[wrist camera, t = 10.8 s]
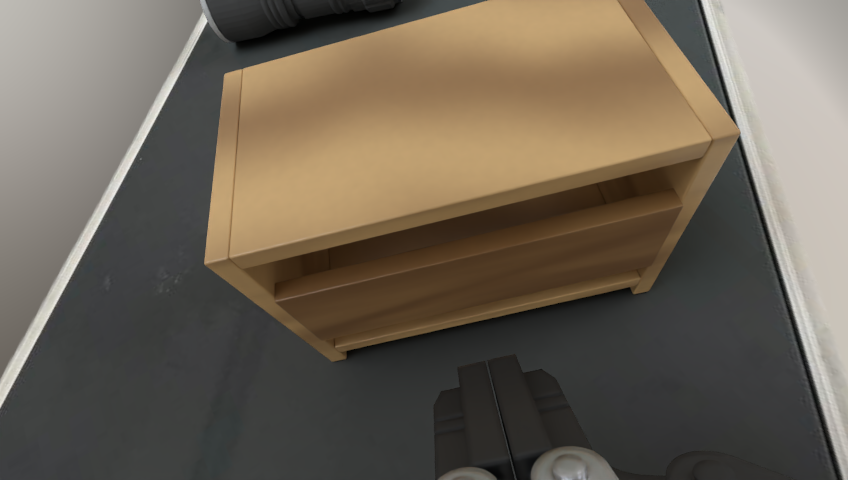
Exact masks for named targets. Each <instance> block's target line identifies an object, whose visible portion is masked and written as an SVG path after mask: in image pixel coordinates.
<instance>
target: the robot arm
mask: <svg viewBox="0 0 848 480" xmlns="http://www.w3.org/2000/svg"><path fill="white" fill-rule="evenodd" d="M487 361H488V365H489V369H490V373H491V378H492V382H493V386H494V390H495V394H496V398H497V403H498V407H499V411H500V415H501V419H502V423H503V427H504V431H505V435H506V439H507V443H508V447H509V451H510V455H511V459H512V462H513V466H514V470H515V474H516V478H517V480H795V479H793V478H790V477H787V476H784V475H782V474H779V473H776V472H774V471H771V470H768V469H766V468H763V467H760V466H758V465H755V464H752V463H750V462H747V461H744V460H741V459H739V458H736V457H733V456H730V455H727V454H724V453H719V452H714V451H693V452H689V453H685V454H682V455H680V456H678V457H676V458H675V459H674V460H673V461H672V462H671V463H670V464H669V466H668V467H667V470H666V476H655V475H640V474H632V473H627V472H623V471H620V470H617V469H615V468H613V467H611V466H610V465H609V464H608V463H607V461H606V460H605V459H604V458H603V457H602V456H601V455H599V454H597V453H596V452H594V451H593V450H592V448H591V446H590V444H589V442H588V440H587V438H586V436H585V434H584V433H583V431H582V429H581V427H580V425H579V423H578V421H577V419H576V417H575V415H574V413H573V411H572V409H571V407H570V406H569V404H568V402H567V400H566V398H565V396H564V395H563V392H562V390H561V388H560V386H559V384H558V382H557V380H556V379H555V378H554V377H552V376H551V375H549V374H548V373H546V372H545V371H543V370H542V369H540V370H535V371H531V372H526V373H523V372H522V370H521V367H520V365H519V362H518V360H517V357H516V355H515V354H513V355H509V356H504V357H500V358H495V359H491V360H487ZM458 376H459V384H460V387H459V388H454V389H450V390H445V391H441V393H440V395H439V397H438V398H437V400H436V402H435V404H434V422H435V423H434V433H435V435H434V439H435V477H436V480H515V479H514V475H513V471H512V467H511V462H510V458H509V454H508V450H507V446H506V442H505V438H504V435H503V431H502V427H501V423H500V419H499V415H498V411H497V407H496V403H495V399H494V395H493V391H492V387H491V383H490V379H489V375H488V371H487V367H486V363H485V361H483V362H478V363H474V364H469V365H465V366H460V367H458Z"/></svg>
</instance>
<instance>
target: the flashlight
mask: <svg viewBox="0 0 848 480" xmlns="http://www.w3.org/2000/svg"><path fill="white" fill-rule="evenodd" d="M200 2H201V5H202V8H203V11H204V14H205V16H206V18H207V20H208V22H209V24H210V26H211V27H212V29H213V30H214V32H215V33H216V34H217V36H218V37H219V38H220V39H221V40H223V41H224V42H226V43H233V42H238V41H243V40H248V39H253V38H258V37H263V36H265V35H267V34H268V33H270V32H272V31H274V30H276V29H284V28H289V27H295V26H296V25H297V24H298V22H299V19H301V18H303V17H305V18H306V19H309V18H314V17H319V16H324V15H329V14H334V13H337V14H342V13H343V12H345V13H348V12H349V11H350V10H354V11H355V12H356V11H361V10H366V9H367V10H368V11H369V12H377V11H382V10H387V9H392V8H393V7H394V6H395V3H400V2H403V0H200Z"/></svg>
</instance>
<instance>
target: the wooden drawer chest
mask: <svg viewBox="0 0 848 480" xmlns="http://www.w3.org/2000/svg"><path fill="white" fill-rule="evenodd" d="M739 135H740V130H739V128H738V127H737V126H736V124H735V123H734V122H733V120H732V119H731V118H730V116H729V115H728V114H727V112H726V111H725V110H724V108H723V107H722V105H721V104H720V103H719V101H718V100H717V99H716V97H715V96H714V95H713V93H712V92H711V91H710V89H709V88H708V87H707V85H706V84H705V82H704V81H703V80H702V78H701V77H700V76H699V74H698V73H697V72H696V70H695V69H694V68H693V66H692V65H691V64H690V62H689V61H688V59H687V58H686V57H685V55H684V54H683V53H682V51H681V50H680V49H679V47H678V46H677V45H676V43H675V42H674V41H673V39H672V38H671V36H670V35H669V34H668V32H667V31H666V30H665V28H664V27H663V26H662V24H661V23H660V22H659V20H658V19H657V18H656V16H655V15H654V13H653V12H652V11H651V9H650V8H649V7H648V5H647V4H646V3H645V1H644V0H488V1H485V2H481V3H478V4H474V5H470V6H467V7H463V8H460V9H456V10H452V11H449V12H445V13H442V14H438V15H434V16H431V17H427V18H424V19H420V20H416V21H413V22H409V23H406V24H402V25H398V26H395V27H391V28H388V29H384V30H380V31H377V32H373V33H370V34H366V35H362V36H359V37H355V38H352V39H348V40H345V41H341V42H337V43H334V44H330V45H327V46H323V47H319V48H316V49H312V50H309V51H305V52H301V53H298V54H294V55H291V56H287V57H283V58H280V59H276V60H273V61H269V62H265V63H262V64H258V65H255V66H251V67H247V68H244V69H243V70H242V69H240V70H236V71H233V72H229V73H226V74H225V75H224V83H223V93H222V102H221V111H220V121H219V130H218V139H217V149H216V158H215V167H214V177H213V186H212V195H211V205H210V214H209V223H208V233H207V242H206V251H205V261H204V264H205V265H206V266H207V267H208V268H210V269H211V270H212V271H214V272H215V273H216V274H218V275H219V276H220V277H222V278H223V279H224V280H226V281H227V282H228V283H229V284H231V285H232V286H233V287H235V288H236V289H237V290H239V291H240V292H241V293H243V294H244V295H245V296H247V297H248V298H249V299H251V300H252V301H253V302H254V303H256V304H257V305H258V306H260V307H261V308H262V309H264V310H265V311H266V312H268V313H269V314H270V315H272V316H273V317H274V318H275V319H277V320H278V321H279V322H281V323H282V324H283V325H285V326H286V327H287V328H289V329H290V330H291V331H293V332H294V333H295V334H297V335H298V336H299V337H300V338H302V339H303V340H304V341H306V342H307V343H308V344H310V345H311V346H312V347H314V348H315V349H316V350H318V351H319V352H320V353H321V354H323V355H324V356H325V357H327V358H328V359H329V360H331V361H332V362H334V361H339V360H343V359H346V358H347V354H346V351H348V350H352V349H357V348H361V347H365V346H370V345H374V344H379V343H383V342H388V341H392V340H397V339H401V338H406V337H410V336H414V335H419V334H423V333H428V332H432V331H437V330H441V329H446V328H450V327H454V326H459V325H463V324H468V323H472V322H477V321H481V320H486V319H490V318H495V317H499V316H503V315H508V314H512V313H517V312H521V311H526V310H530V309H535V308H539V307H543V306H548V305H552V304H557V303H561V302H566V301H570V300H575V299H579V298H583V297H588V296H592V295H597V294H601V293H606V292H610V291H615V290H619V289H624V288H628V287H630V288H631V290H632V293H633V294H638V293H642V292H647V291H649V290H650V288H651V287H652V285H653V283H654V281H655V280H656V278H657V276H658V275H659V273H660V271H661V269H662V268H663V266H664V264H665V263H666V261H667V259H668V257H669V256H670V254H671V252H672V251H673V249H674V247H675V245H676V244H677V242H678V240H679V238H680V237H681V235H682V233H683V232H684V230H685V228H686V226H687V225H688V223H689V221H690V220H691V218H692V216H693V214H694V213H695V211H696V209H697V208H698V206H699V204H700V202H701V201H702V199H703V197H704V195H705V194H706V192H707V190H708V189H709V187H710V185H711V183H712V182H713V180H714V178H715V177H716V175H717V173H718V171H719V170H720V168H721V166H722V165H723V163H724V161H725V159H726V158H727V156H728V154H729V152H730V151H731V149H732V147H733V146H734V144H735V142H736V140H737V139H738V137H739Z"/></svg>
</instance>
